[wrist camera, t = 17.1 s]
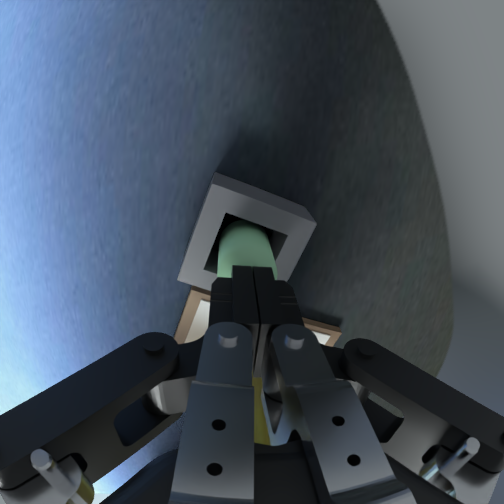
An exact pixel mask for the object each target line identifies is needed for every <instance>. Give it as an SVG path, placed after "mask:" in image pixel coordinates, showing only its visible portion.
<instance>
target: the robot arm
mask: <svg viewBox="0 0 504 504" xmlns="http://www.w3.org/2000/svg"><path fill="white" fill-rule="evenodd" d="M252 370H253V377H255V378H262V389H261V401H262V405H263V410H264V415H265V419H266V424H267V428H268V433H269V438H270V445H265V444H260V443H255V442H254V386H252ZM371 392H373V393H375V394H376V395H378V396H379V397H381V398H382V399H384V400H385V401H387V402H389V403H390V404H392V405H393V406H395V407H397V408H398V409H399V410H401V411H402V413H403V415H404V418H399V417H397V416H395V415H393V414H392V413H390V412H389V411H387V410H386V409H384V408H382V407H381V406H379V405H378V404H376V403H375V402H373V401H372V400H370V399H369V398H368V397H369V395H370V393H371ZM183 412H185V417H184V422H183V428H182V433H181V438H180V444H179V449H176V450H173V451H170V452H168V453H165V454H163V455H161V456H159V457H157V458H156V459H154V460H153V461H151V462H150V463H148V464H147V465H146V466H145V467H144V468H142V469H141V470H140V471H139V472H138V473H136V474H135V475H134V476H133V477H132V478H130V479H129V480H128V481H127V482H126V483H124V484H123V485H122V486H121V487H119V488H118V489H117V490H116V491H115V492H113V493H112V494H111V495H110V496H108V497H107V498H106V499H104V500H103V501H102V502H101V503H99V504H488V503H489V500H490V498H491V495H492V493H493V490H494V488H495V485H496V482H497V479H498V477H499V474H500V472H501V471H502V470H503V469H504V417H503V416H501V415H499V414H498V413H496V412H494V411H492V410H490V409H489V408H487V407H485V406H483V405H482V404H480V403H478V402H476V401H474V400H473V399H471V398H469V397H468V396H466V395H464V394H463V393H461V392H459V391H457V390H456V389H454V388H452V387H450V386H449V385H447V384H445V383H444V382H442V381H440V380H438V379H437V378H435V377H433V376H432V375H430V374H428V373H426V372H425V371H423V370H421V369H420V368H418V367H416V366H414V365H413V364H411V363H409V362H408V361H406V360H404V359H403V358H401V357H399V356H397V355H396V354H394V353H392V352H391V351H389V350H387V349H386V348H384V347H382V346H381V345H379V344H377V343H375V342H373V341H371V340H368V339H361V338H358V339H352V340H350V341H348V342H347V343H346V344H345V346H344V349H341V348H336V347H331V346H327V345H324V344H321V343H319V341H318V339H317V337H316V335H315V334H314V333H313V332H312V331H311V330H310V329H308V328H306V327H305V325H304V322H303V319H302V316H301V313H300V310H299V307H298V305H297V300H296V298H295V294H294V291H293V288H292V287H291V286H290V285H289V284H288V283H287V282H286V281H285V280H275V278H274V274H273V270H272V267H260V266H252V267H251V266H242V265H232V271H231V278H227V277H217V278H216V280H215V281H214V282H213V283H212V285H211V297H210V309H209V322H208V329H207V330H206V331H205V334H204V335H203V336H202V337H201V338H199V339H197V340H195V341H192V342H188V343H183V344H178V343H177V341H176V340H175V339H174V338H173V337H171V336H169V335H167V334H164V333H159V332H150V333H145V334H142V335H140V336H138V337H136V338H134V339H133V340H131V341H129V342H128V343H126V344H124V345H122V346H121V347H119V348H117V349H116V350H114V351H112V352H110V353H109V354H107V355H105V356H104V357H102V358H100V359H98V360H97V361H95V362H93V363H92V364H90V365H88V366H86V367H85V368H83V369H81V370H79V371H78V372H76V373H74V374H72V375H71V376H69V377H67V378H66V379H64V380H62V381H60V382H59V383H57V384H55V385H53V386H52V387H50V388H48V389H46V390H45V391H43V392H41V393H39V394H37V395H36V396H34V397H32V398H30V399H29V400H27V401H25V402H23V403H22V404H20V405H18V406H16V407H14V408H13V409H11V410H9V411H7V412H5V413H4V414H2V415H0V494H1V496H2V497H3V499H4V501H5V503H6V504H91V503H92V502H93V499H94V488H93V485H92V484H93V483H95V482H96V481H97V480H99V479H100V478H102V477H103V476H104V475H106V474H107V473H109V472H110V471H111V470H113V469H114V468H116V467H117V466H118V465H120V464H121V463H122V462H124V461H125V460H126V459H128V458H129V457H130V456H132V455H133V454H134V453H136V452H137V451H138V450H140V449H141V448H142V447H144V446H145V445H146V444H147V443H149V442H150V441H151V440H153V439H154V438H155V437H156V436H158V435H159V434H160V433H161V432H163V431H164V430H165V429H166V428H168V427H169V426H170V425H171V424H173V423H174V422H175V421H176V420H177V419H179V418H180V416H181V415H182V413H183Z"/></svg>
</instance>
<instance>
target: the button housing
mask: <svg viewBox="0 0 504 504" xmlns="http://www.w3.org/2000/svg"><path fill="white" fill-rule="evenodd" d="M225 213H229V214H232V215H234V216H237V217H240V218H243V219H245V220H248V221H251V222H254V223H256V224H259V225H262V226H265V227H267V228H270V229H273V230H274V231H273V233H272V235H271V237H270V239H269V243H270V246H271V250H272V253H273V257H274V260H275V264H276V267H277V280H285V281H286V282H287V281H288V279H289V277H290V275H291V273H292V272H293V270H294V268H295V266H296V264H297V262H298V260H299V258H300V256H301V254H302V252H303V250H304V248H305V247H306V245H307V243H308V241H309V239H310V237H311V235H312V233H313V231H314V229H315V227H316V225H317V223H316V221H315V220H314V219H313V217H312V216H311V214H310V213H309V212H308V210H307V209H306V208H305V207H304V206H302V205H299V204H297V203H294V202H292V201H290V200H287V199H285V198H282V197H280V196H277V195H275V194H272V193H269V192H267V191H264V190H262V189H259V188H257V187H254V186H251V185H249V184H246V183H244V182H241V181H238V180H236V179H233V178H230V177H227V176H225V175H222V174H219V173H217V172H214V175H213V177H212V180H211V183H210V185H209V188H208V190H207V193H206V196H205V198H204V201H203V204H202V206H201V209H200V212H199V215H198V217H197V220H196V223H195V226H194V228H193V231H192V234H191V237H190V240H189V242H188V245H187V248H186V251H185V254H184V257H183V260H182V264H181V268H180V272H179V275H178V279H177V280H178V281H181V282H184V283H187V284H190V285H193V286H197V287H200V288H203V289H206V290H209V291H211V285H212V283H213V282H214V281H215V280H216V278H217V271H218V254H219V251H216V250H213V249H211V248H212V246H213V243H214V241H215V238H216V236H217V233H218V231H219V228H220V226H221V223H222V221H223V218H224V216H225Z"/></svg>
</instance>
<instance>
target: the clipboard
mask: <svg viewBox="0 0 504 504" xmlns="http://www.w3.org/2000/svg"><path fill="white" fill-rule="evenodd" d="M210 297H211V291H209V290H206V289H203V288H200V287H197V286H193V285H192V287H191V290H190V293H189V295H188V298H187V301H186V304H185V306H184V309H183V312H182V315H181V318H180V321H179V323H178V326H177V329H176V332H175V335H174V339H175V340H176V341H177V343H178V344H183V343H188V342H192V341H195V340H197V339H199V338H201V337H202V336H203V335H204V334H205V331H206V330H207V329H208V322H209V309H210ZM302 319H303V322H304V325H305V327H306V328H308V329H310V330H311V331H312V332H313V333H314V334H315V335H316V337H317V339H318V341H319V343H321V344H324V345H327V346H331V347H332V346H333V345H334V343H335V342H336V341H337V339H338V338H339V336H340V335H341V333H342V332H341V330H340V328H339V327H336V326H332V325H329V324H325V323H321V322H317V321H314V320H310V319H307V318H303V317H302Z"/></svg>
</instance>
